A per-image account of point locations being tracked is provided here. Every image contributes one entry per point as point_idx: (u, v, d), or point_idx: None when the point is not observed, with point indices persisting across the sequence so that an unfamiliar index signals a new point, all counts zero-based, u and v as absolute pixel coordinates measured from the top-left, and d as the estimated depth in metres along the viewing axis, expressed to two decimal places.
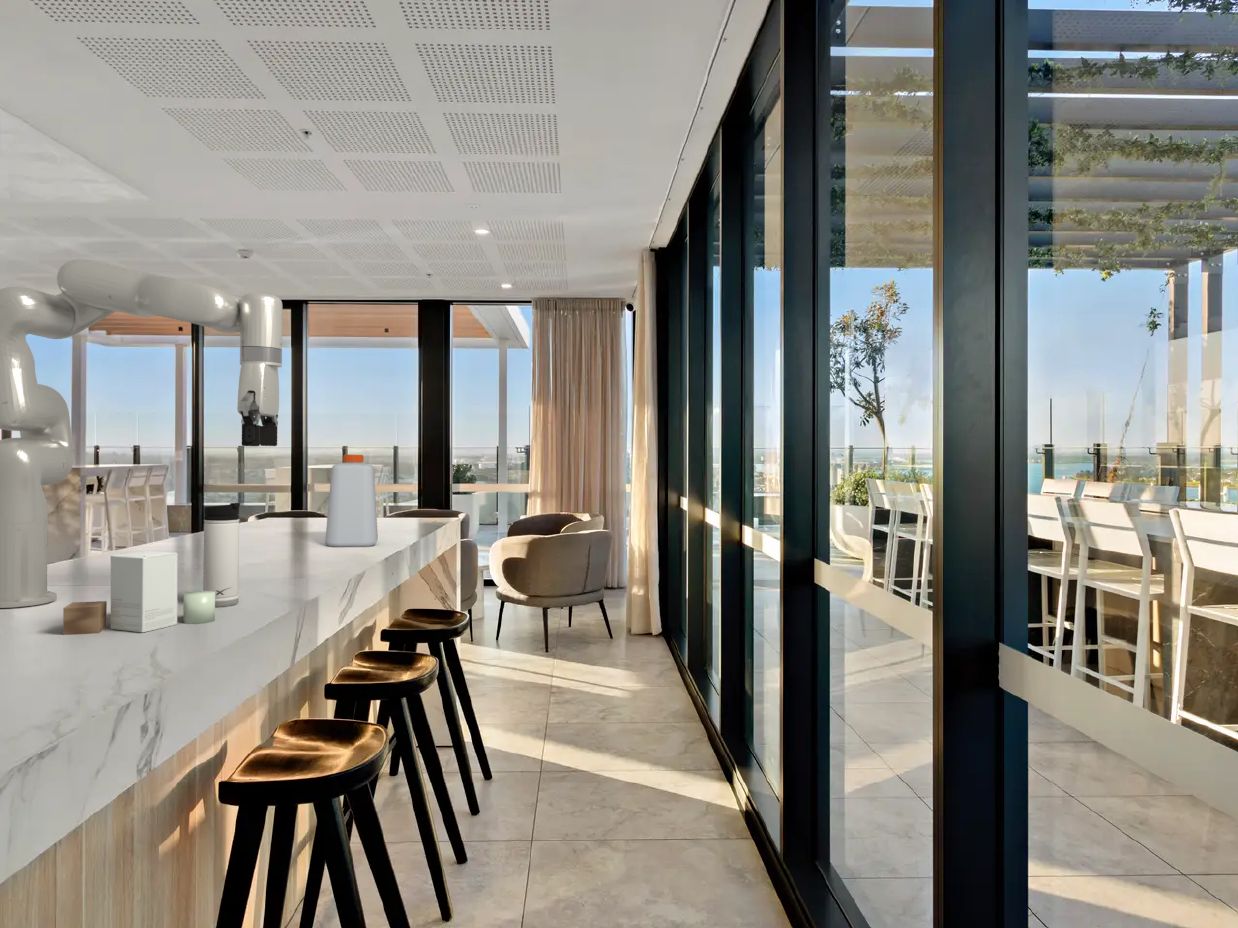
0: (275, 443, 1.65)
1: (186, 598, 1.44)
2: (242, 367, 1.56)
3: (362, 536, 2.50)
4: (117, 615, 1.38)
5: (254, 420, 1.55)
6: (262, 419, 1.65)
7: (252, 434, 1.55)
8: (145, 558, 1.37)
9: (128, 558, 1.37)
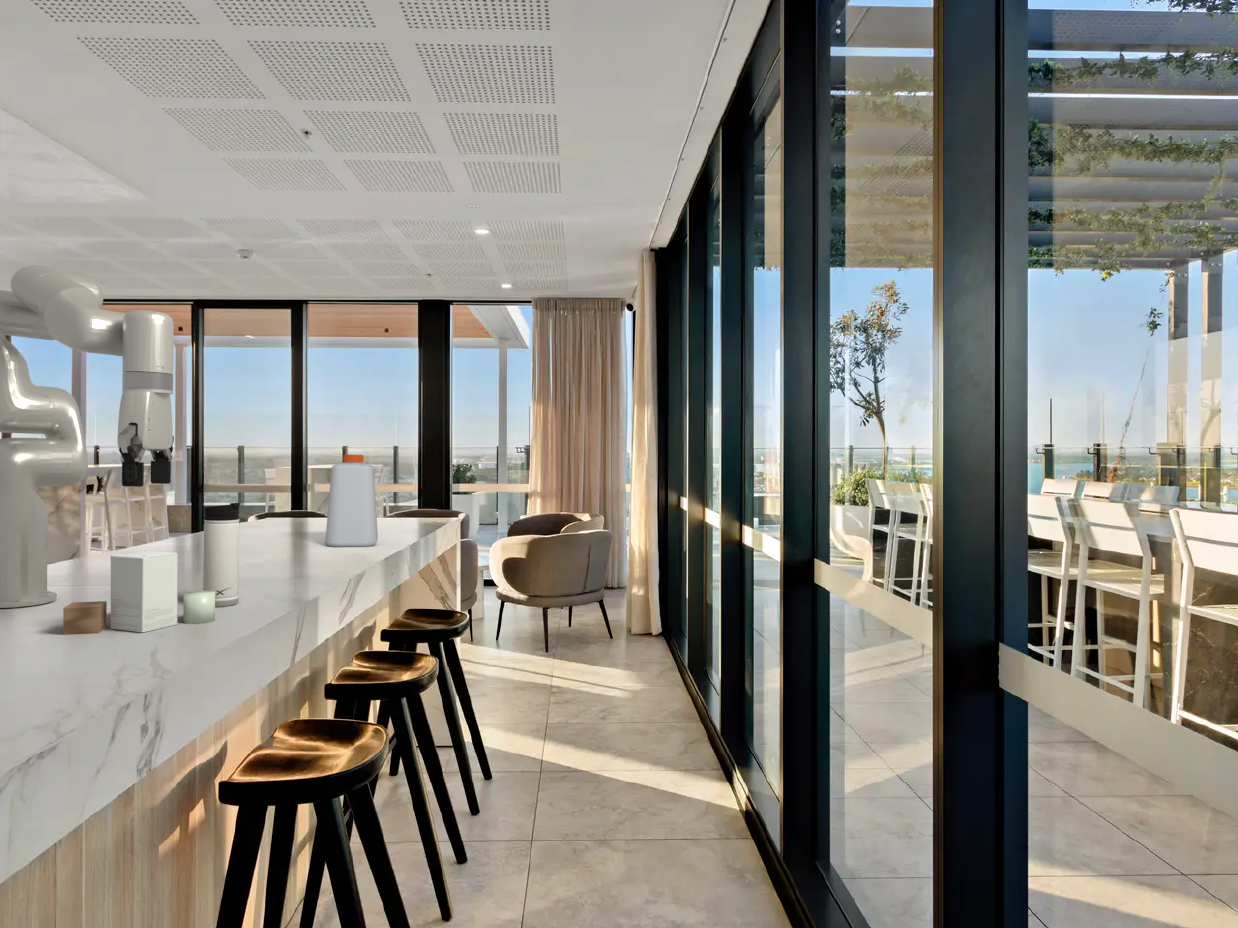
0: (168, 480, 1.45)
1: (186, 598, 1.44)
2: (123, 396, 1.36)
3: (362, 536, 2.50)
4: (117, 615, 1.38)
5: (136, 457, 1.34)
6: (153, 453, 1.44)
7: (133, 473, 1.35)
8: (145, 558, 1.37)
9: (128, 558, 1.37)
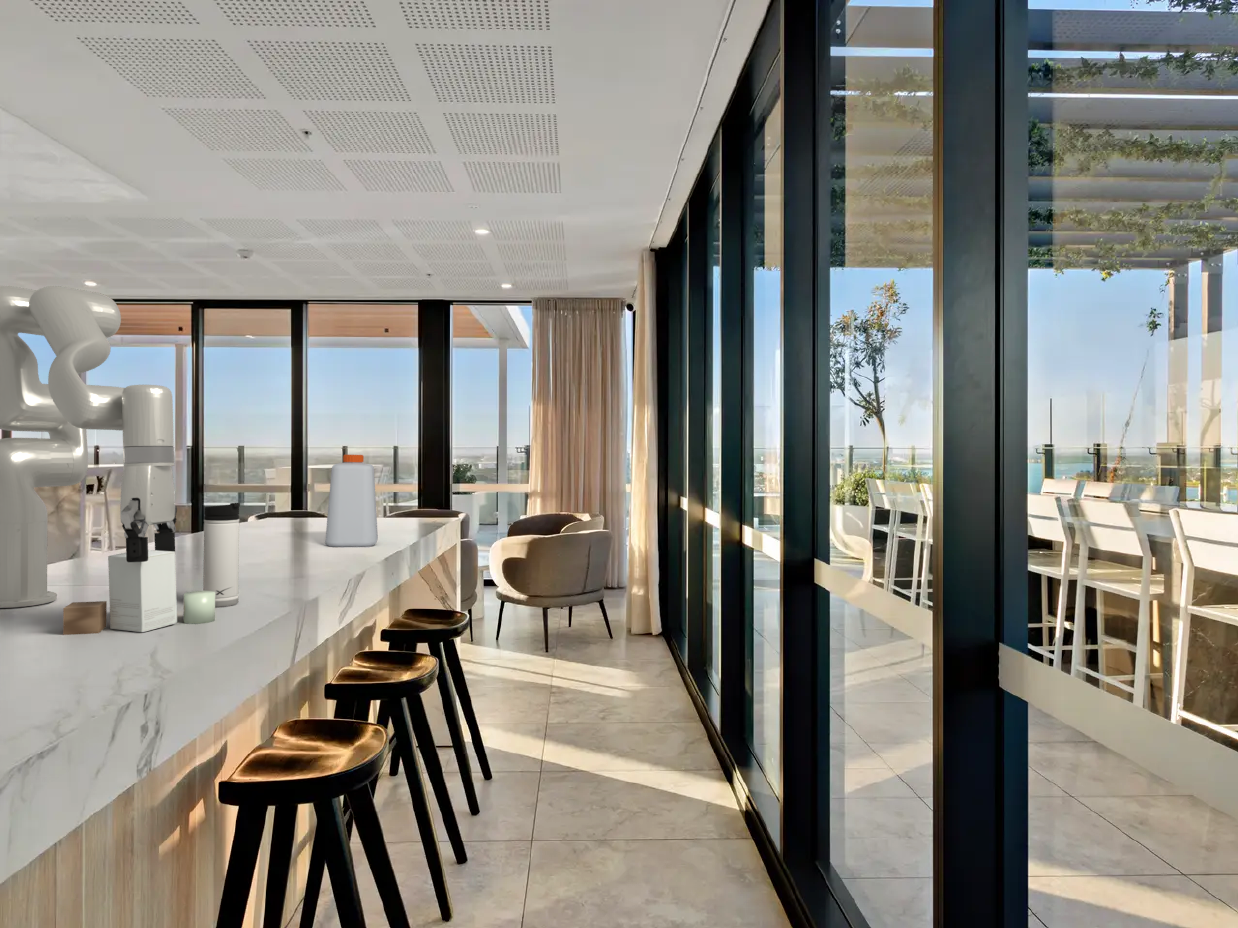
0: None
1: (186, 598, 1.44)
2: (124, 471, 1.35)
3: (362, 536, 2.50)
4: (116, 615, 1.38)
5: (139, 532, 1.34)
6: (156, 525, 1.44)
7: (138, 548, 1.34)
8: None
9: (125, 558, 1.37)
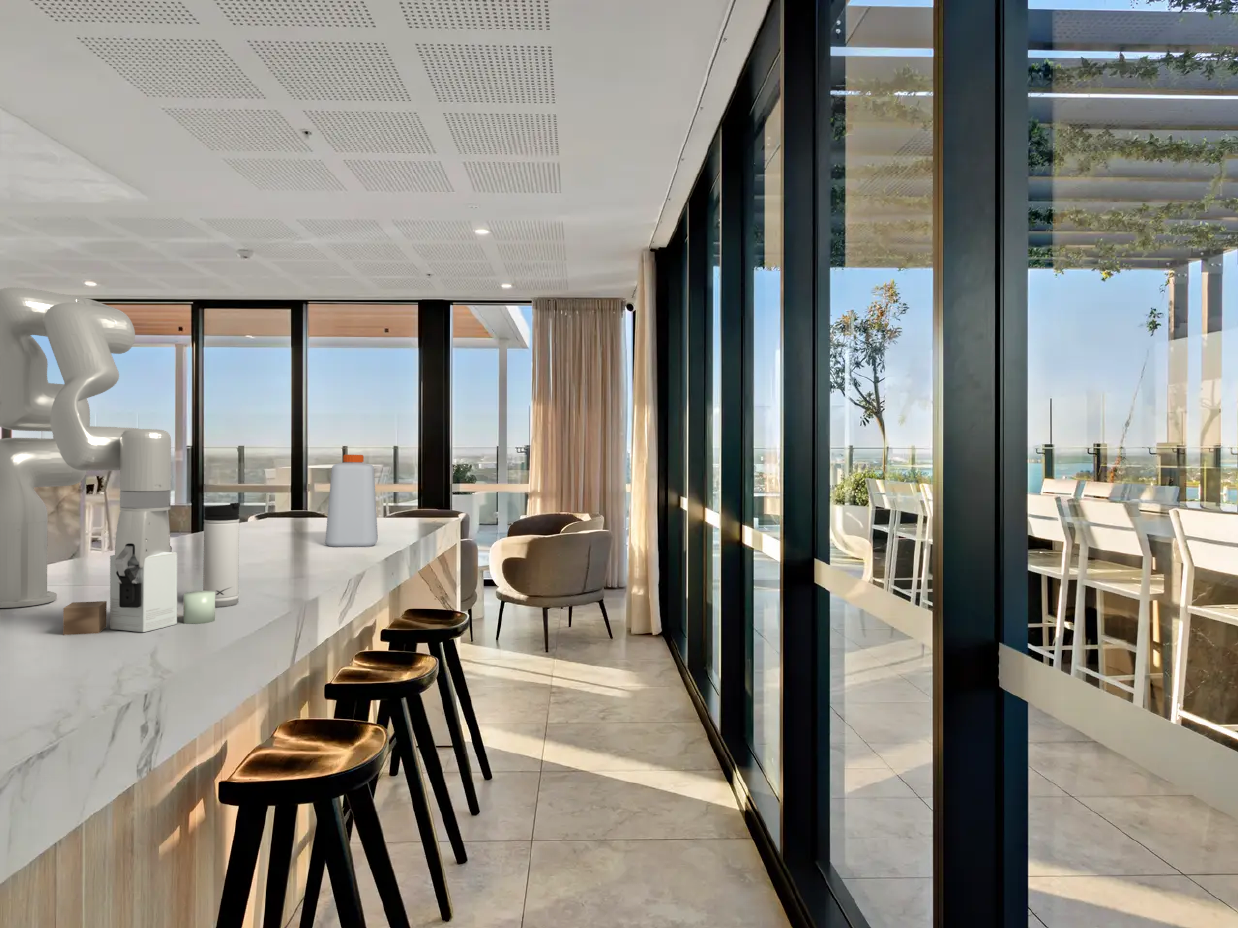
0: None
1: (186, 598, 1.44)
2: (120, 516, 1.36)
3: (362, 536, 2.50)
4: (117, 615, 1.38)
5: (133, 579, 1.35)
6: None
7: (131, 594, 1.35)
8: (146, 558, 1.37)
9: None
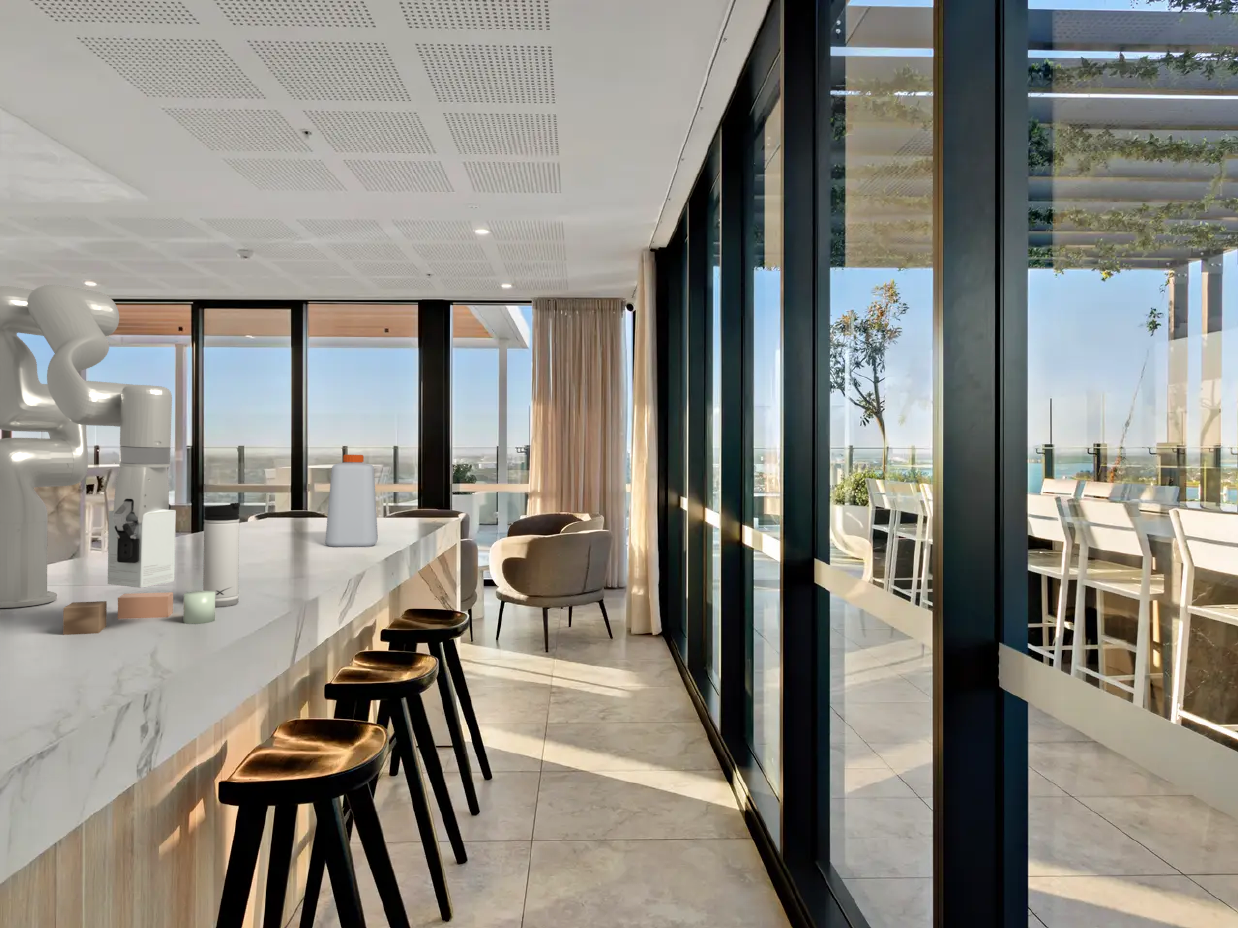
0: None
1: (186, 598, 1.44)
2: (119, 471, 1.36)
3: (362, 536, 2.50)
4: (114, 570, 1.38)
5: (131, 534, 1.35)
6: None
7: (129, 550, 1.35)
8: (145, 514, 1.37)
9: None
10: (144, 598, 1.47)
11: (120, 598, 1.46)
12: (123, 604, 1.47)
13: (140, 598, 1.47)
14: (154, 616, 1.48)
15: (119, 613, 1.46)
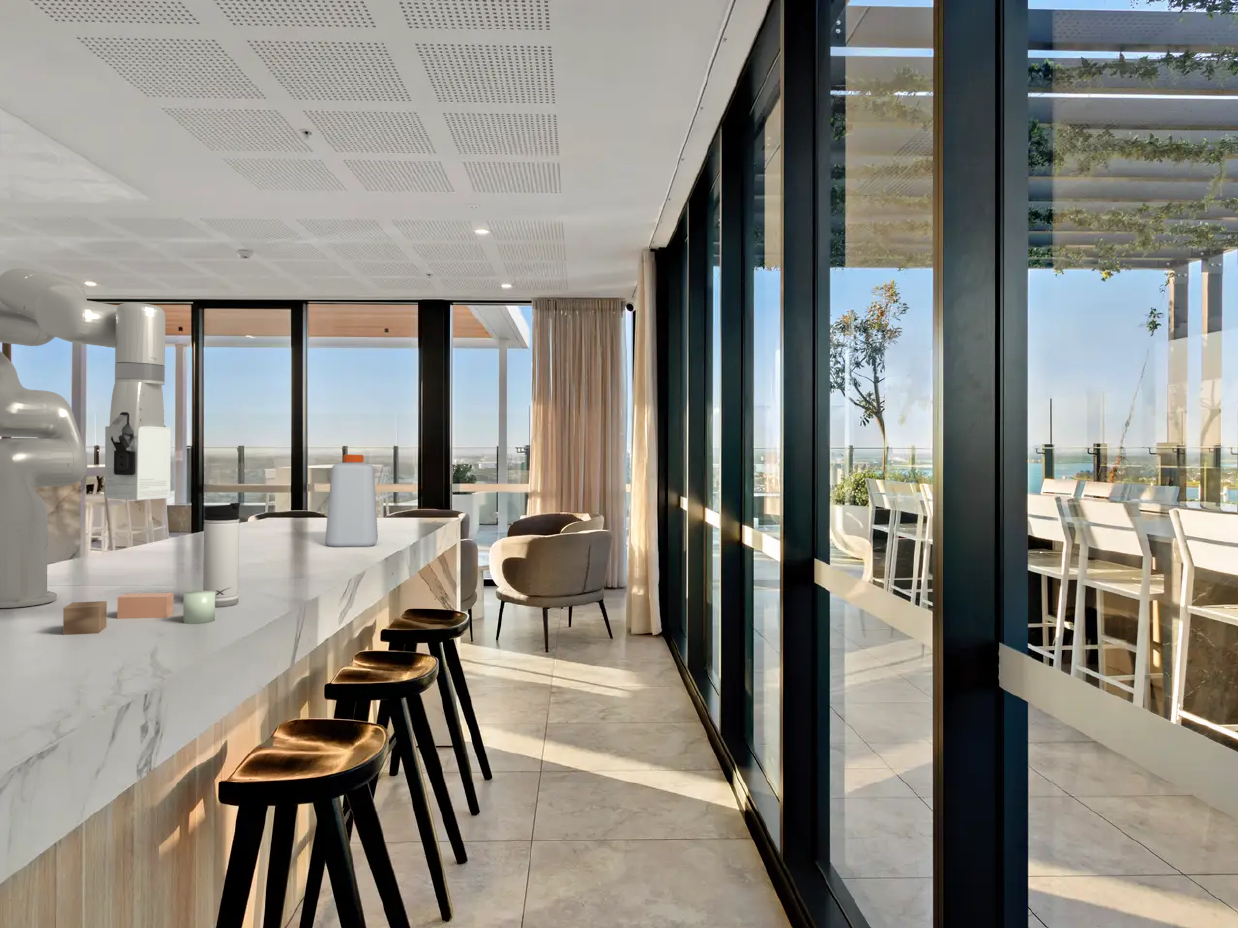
0: None
1: (186, 598, 1.44)
2: (115, 386, 1.39)
3: (362, 536, 2.50)
4: (111, 484, 1.41)
5: (127, 446, 1.38)
6: None
7: (125, 462, 1.38)
8: (140, 427, 1.40)
9: (123, 428, 1.40)
10: (143, 598, 1.47)
11: (120, 598, 1.47)
12: (123, 604, 1.47)
13: (139, 598, 1.47)
14: (153, 616, 1.48)
15: (119, 613, 1.47)
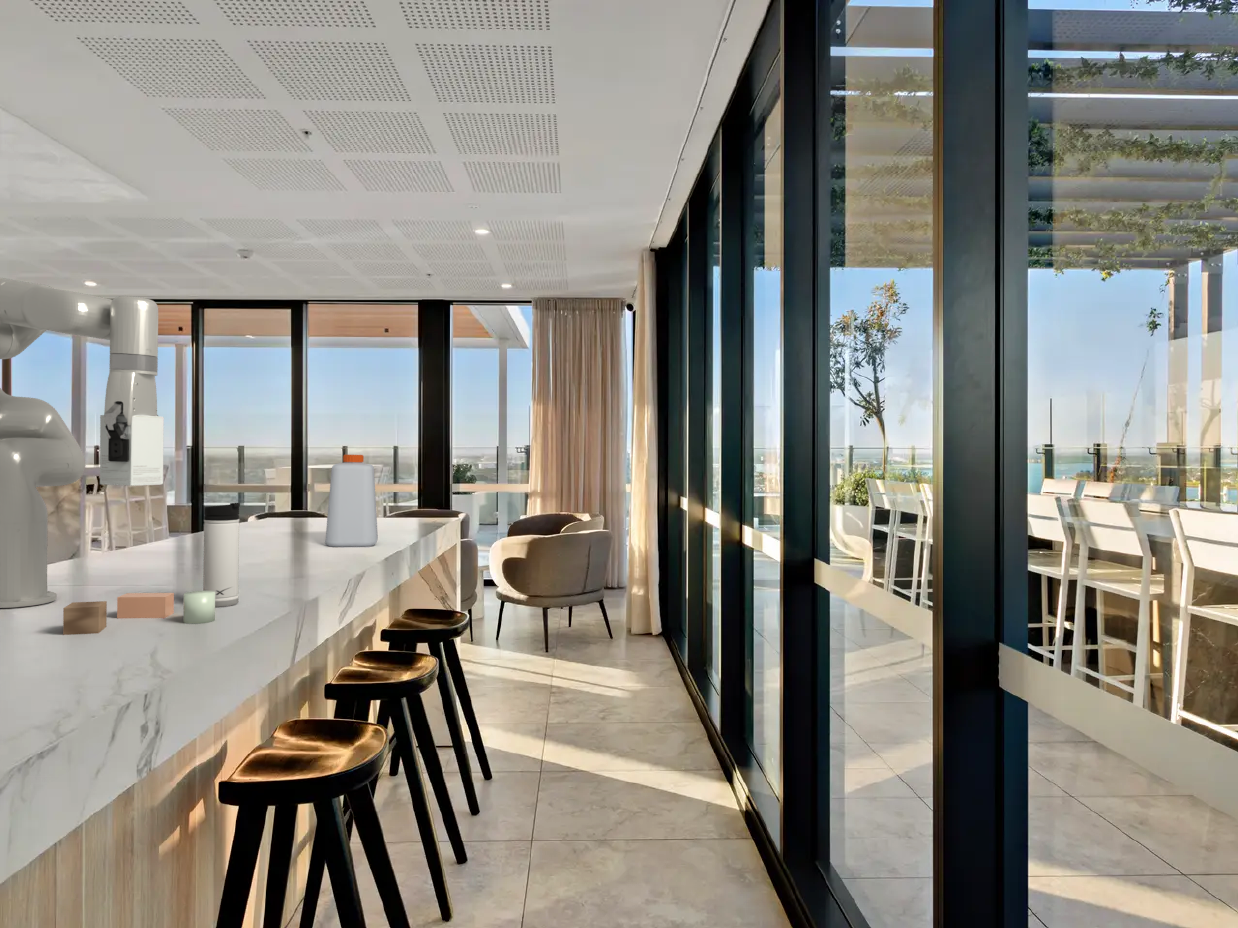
0: None
1: (186, 598, 1.44)
2: (109, 376, 1.45)
3: (362, 536, 2.50)
4: (106, 471, 1.47)
5: (121, 434, 1.44)
6: None
7: (119, 449, 1.44)
8: (134, 416, 1.45)
9: (117, 416, 1.46)
10: (142, 598, 1.47)
11: (119, 598, 1.47)
12: (122, 604, 1.47)
13: (138, 598, 1.47)
14: (152, 616, 1.48)
15: (118, 612, 1.47)
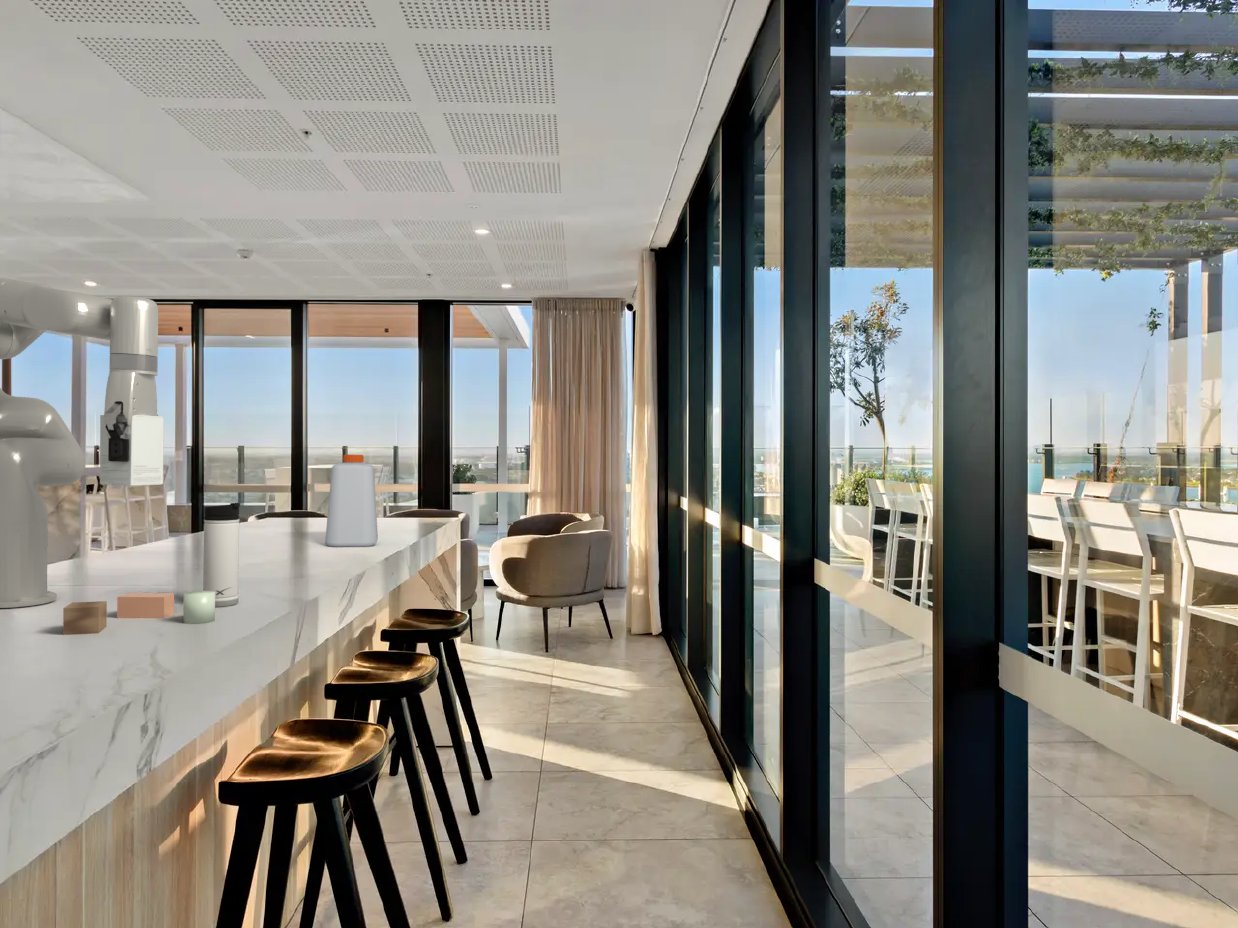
0: None
1: (186, 598, 1.44)
2: (109, 376, 1.45)
3: (362, 536, 2.50)
4: (106, 471, 1.47)
5: (121, 434, 1.44)
6: None
7: (119, 449, 1.44)
8: (134, 416, 1.45)
9: (117, 416, 1.46)
10: (142, 598, 1.47)
11: (119, 597, 1.47)
12: (122, 604, 1.47)
13: (138, 598, 1.47)
14: (151, 616, 1.48)
15: (118, 612, 1.47)
